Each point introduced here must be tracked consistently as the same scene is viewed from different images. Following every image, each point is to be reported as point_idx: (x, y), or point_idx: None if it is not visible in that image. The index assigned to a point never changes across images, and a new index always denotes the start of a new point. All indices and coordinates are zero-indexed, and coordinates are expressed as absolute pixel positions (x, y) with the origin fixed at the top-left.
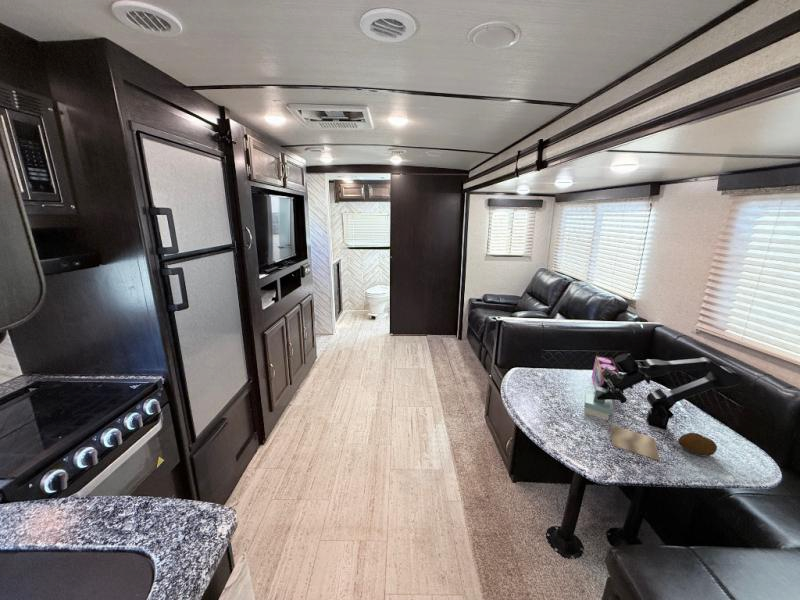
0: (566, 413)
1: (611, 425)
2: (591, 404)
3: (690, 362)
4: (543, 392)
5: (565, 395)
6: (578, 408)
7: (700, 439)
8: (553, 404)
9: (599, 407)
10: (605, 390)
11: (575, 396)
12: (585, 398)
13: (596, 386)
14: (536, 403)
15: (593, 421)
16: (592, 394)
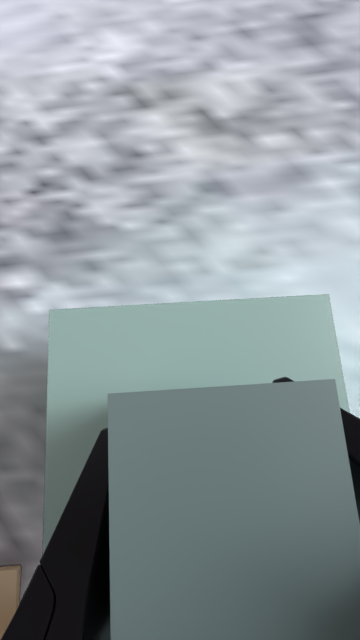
0: (12, 233)
1: (5, 575)
2: (50, 377)
3: None
4: (226, 68)
5: (300, 194)
6: (151, 299)
7: None
8: (91, 144)
9: (51, 469)
10: (226, 632)
11: (345, 259)
12: (165, 304)
13: (312, 384)
14: (31, 57)
15: (7, 422)
16: (329, 366)
